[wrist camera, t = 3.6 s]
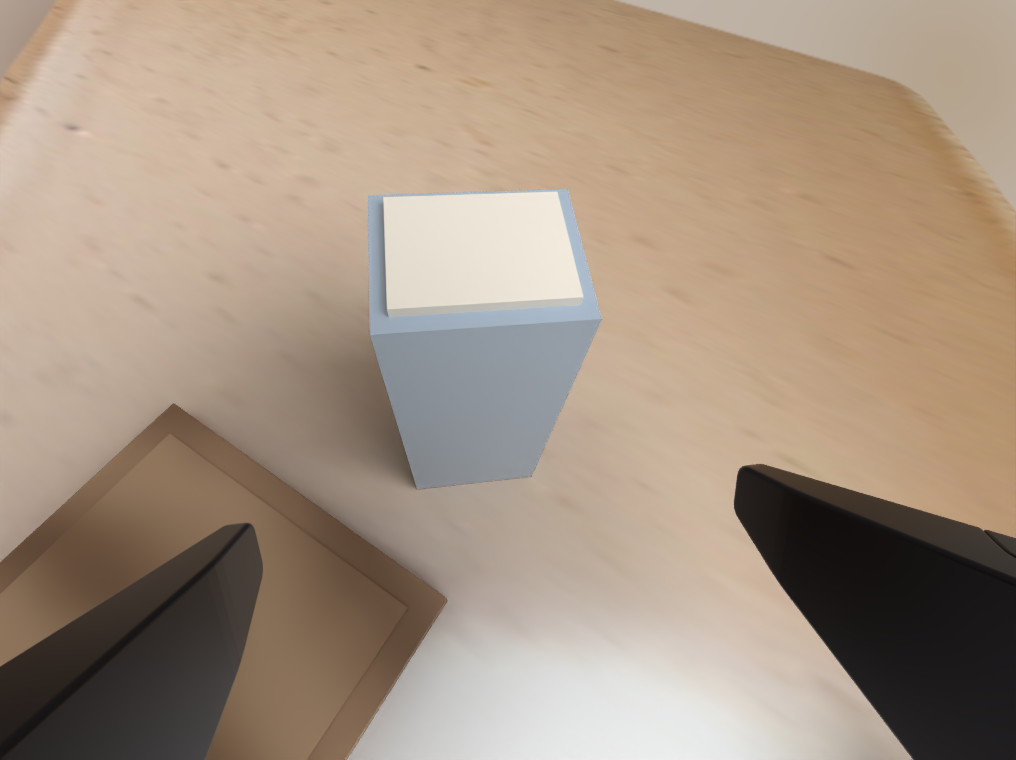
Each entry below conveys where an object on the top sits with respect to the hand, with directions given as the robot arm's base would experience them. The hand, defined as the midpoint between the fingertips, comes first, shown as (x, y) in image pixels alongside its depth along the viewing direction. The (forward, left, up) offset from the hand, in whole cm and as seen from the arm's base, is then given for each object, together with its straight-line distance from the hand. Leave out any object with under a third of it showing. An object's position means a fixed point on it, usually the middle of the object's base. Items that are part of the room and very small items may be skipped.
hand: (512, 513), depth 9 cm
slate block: (+5, +4, -12) cm, 13 cm away
